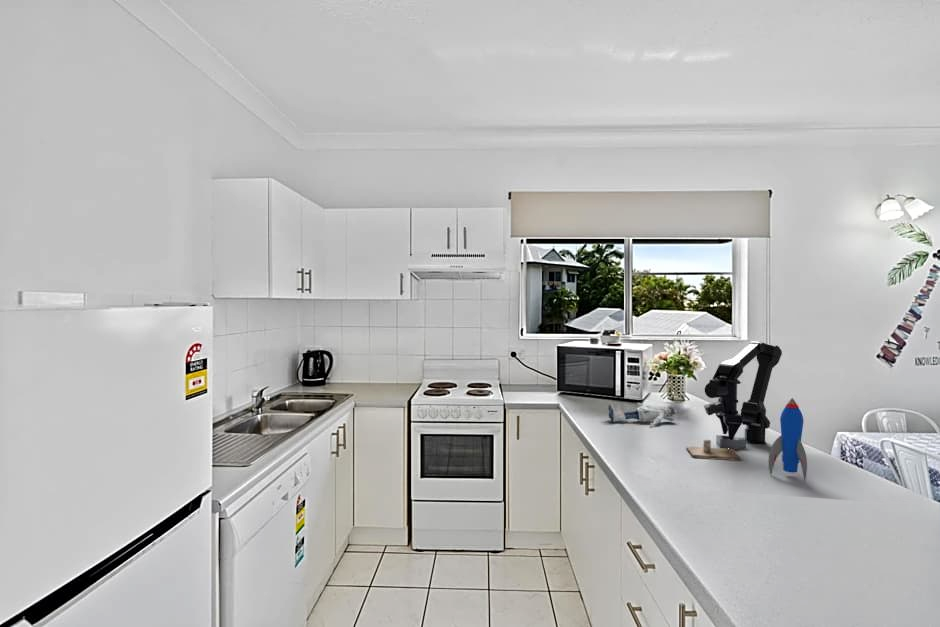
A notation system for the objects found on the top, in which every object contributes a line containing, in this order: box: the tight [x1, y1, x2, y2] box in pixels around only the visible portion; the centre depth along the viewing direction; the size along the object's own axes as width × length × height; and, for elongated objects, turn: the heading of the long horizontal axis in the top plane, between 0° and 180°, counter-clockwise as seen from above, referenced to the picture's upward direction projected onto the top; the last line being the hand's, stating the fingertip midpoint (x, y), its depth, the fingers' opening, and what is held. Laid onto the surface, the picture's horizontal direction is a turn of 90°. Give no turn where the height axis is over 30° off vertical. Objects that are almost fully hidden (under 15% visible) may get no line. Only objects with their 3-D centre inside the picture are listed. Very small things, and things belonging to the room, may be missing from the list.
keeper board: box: [685, 439, 742, 461], centre depth 210 cm, size 16×12×5 cm
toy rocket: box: [767, 397, 808, 482], centre depth 185 cm, size 11×10×25 cm
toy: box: [608, 402, 678, 428], centre depth 265 cm, size 23×8×30 cm
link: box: [715, 434, 747, 450], centre depth 222 cm, size 10×7×4 cm
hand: (727, 436), depth 222 cm, fingers open, 9 cm apart
